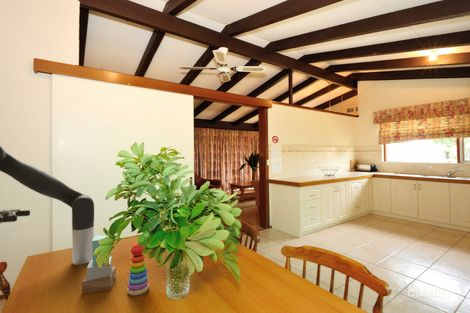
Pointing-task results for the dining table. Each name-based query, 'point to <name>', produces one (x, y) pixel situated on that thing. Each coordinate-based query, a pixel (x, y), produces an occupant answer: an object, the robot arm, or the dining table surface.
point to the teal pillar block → (96, 245)
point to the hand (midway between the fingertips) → (23, 215)
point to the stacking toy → (137, 272)
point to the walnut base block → (99, 283)
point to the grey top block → (98, 270)
